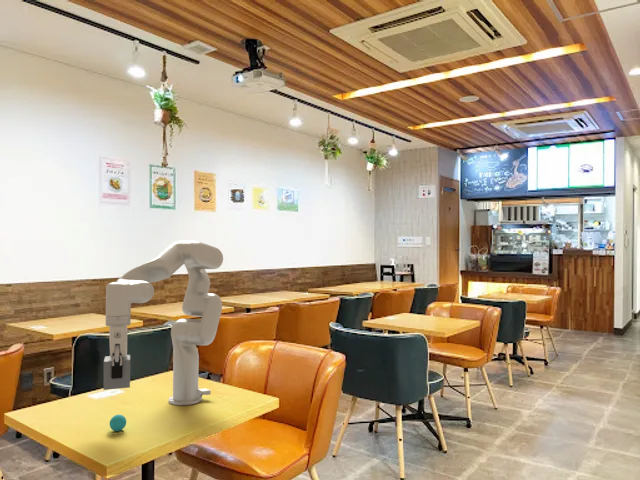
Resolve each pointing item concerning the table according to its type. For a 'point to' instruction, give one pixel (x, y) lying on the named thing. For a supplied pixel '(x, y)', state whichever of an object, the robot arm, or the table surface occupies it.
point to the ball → (117, 422)
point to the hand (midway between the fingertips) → (117, 374)
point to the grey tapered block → (118, 382)
